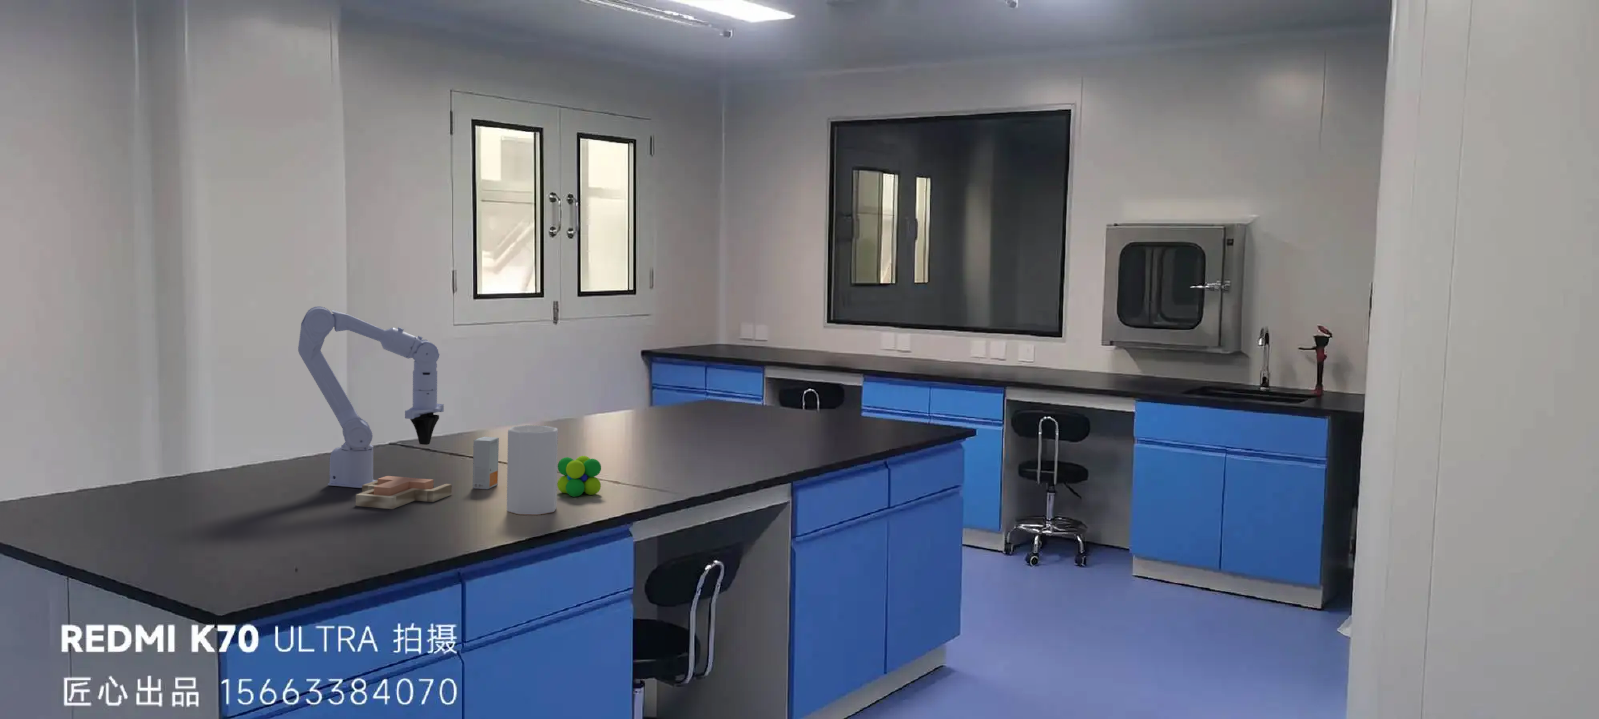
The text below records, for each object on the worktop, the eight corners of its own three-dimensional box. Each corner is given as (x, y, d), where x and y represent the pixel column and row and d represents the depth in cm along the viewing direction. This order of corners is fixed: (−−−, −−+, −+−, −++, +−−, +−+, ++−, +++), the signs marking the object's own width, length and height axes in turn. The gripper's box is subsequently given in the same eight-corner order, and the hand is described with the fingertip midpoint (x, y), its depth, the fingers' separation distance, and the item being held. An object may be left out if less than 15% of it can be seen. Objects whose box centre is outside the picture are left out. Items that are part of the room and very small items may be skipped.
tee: (357, 502, 258) (357, 485, 258) (387, 492, 270) (387, 475, 270) (405, 506, 256) (406, 489, 255) (433, 496, 268) (433, 479, 267)
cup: (512, 517, 250) (514, 433, 248) (501, 506, 260) (502, 425, 258) (562, 513, 255) (564, 431, 253) (549, 503, 265) (551, 424, 263)
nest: (337, 504, 256) (337, 493, 256) (382, 488, 273) (382, 478, 273) (410, 510, 252) (411, 499, 252) (451, 494, 270) (451, 484, 270)
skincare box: (488, 489, 277) (489, 441, 276) (472, 488, 277) (472, 440, 276) (498, 485, 283) (499, 437, 282) (482, 483, 283) (482, 436, 282)
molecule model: (570, 499, 270) (603, 495, 276) (571, 462, 269) (604, 459, 275) (554, 492, 277) (586, 488, 282) (554, 456, 276) (587, 453, 282)
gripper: (423, 393, 273) (423, 449, 275) (454, 387, 287) (454, 440, 289) (397, 391, 275) (396, 447, 276) (429, 385, 289) (429, 438, 290)
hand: (424, 444), depth 282 cm, fingers closed
